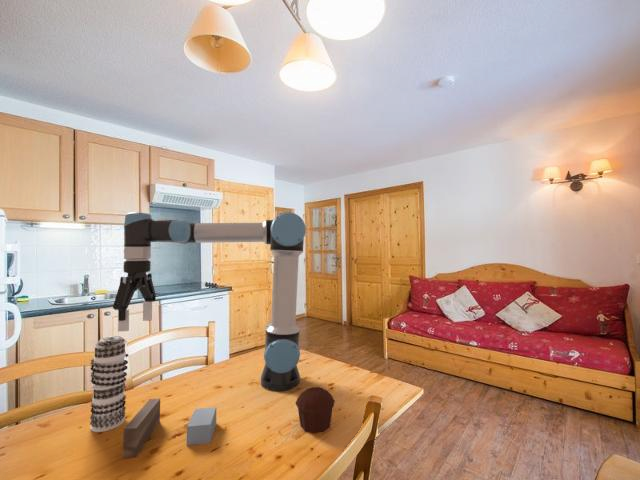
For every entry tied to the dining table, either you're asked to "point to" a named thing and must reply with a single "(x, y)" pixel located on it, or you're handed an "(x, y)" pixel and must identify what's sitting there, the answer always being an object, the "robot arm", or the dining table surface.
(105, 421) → the decorative candle
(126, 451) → the board
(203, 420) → the slate block
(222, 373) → the dining table surface
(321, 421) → the muffin
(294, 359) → the robot arm
